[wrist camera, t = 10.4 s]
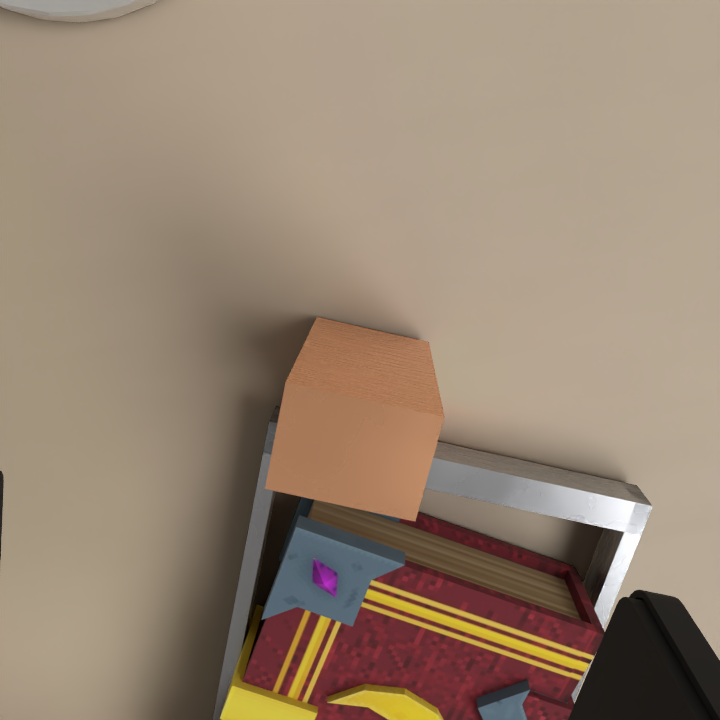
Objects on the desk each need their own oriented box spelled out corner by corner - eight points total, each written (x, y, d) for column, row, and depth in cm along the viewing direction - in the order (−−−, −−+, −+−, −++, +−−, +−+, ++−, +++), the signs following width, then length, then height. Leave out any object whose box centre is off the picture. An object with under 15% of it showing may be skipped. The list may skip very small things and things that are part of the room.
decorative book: (580, 558, 25) (623, 649, 21) (428, 836, 30) (435, 962, 25) (309, 463, 25) (290, 534, 20) (197, 761, 30) (160, 877, 25)
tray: (294, 312, 22) (253, 375, 16) (671, 396, 23) (788, 493, 16) (196, 819, 30) (140, 1009, 23) (484, 878, 30) (510, 1084, 23)
